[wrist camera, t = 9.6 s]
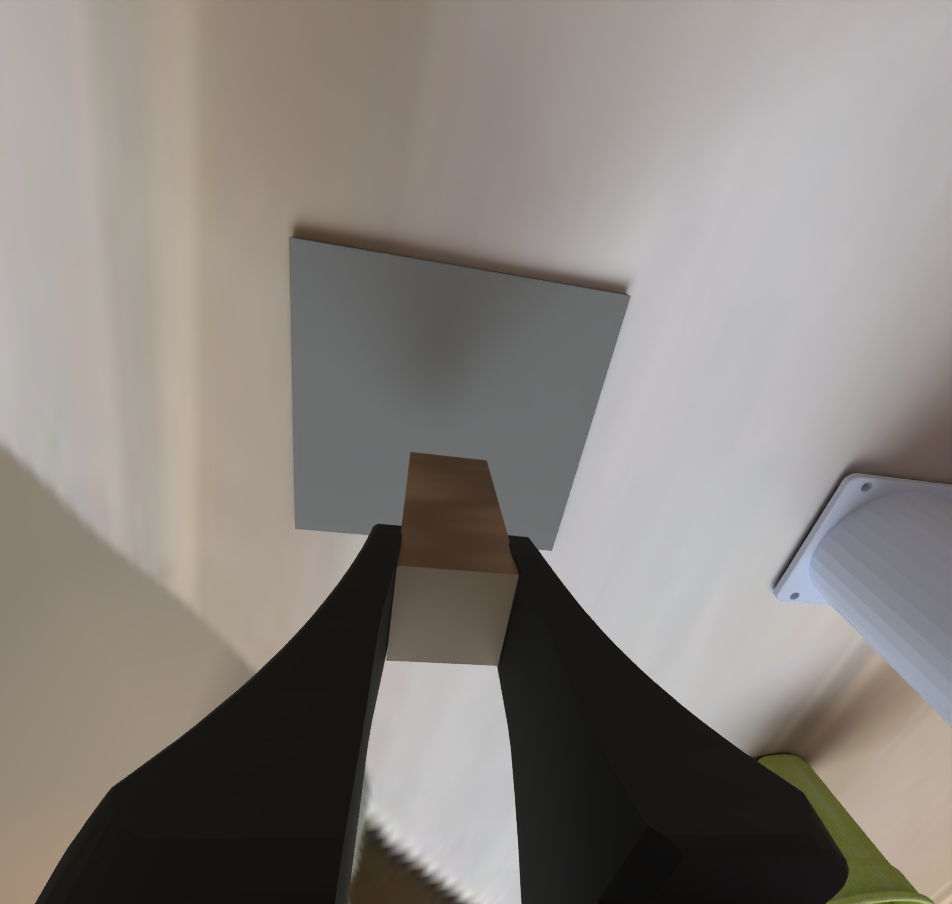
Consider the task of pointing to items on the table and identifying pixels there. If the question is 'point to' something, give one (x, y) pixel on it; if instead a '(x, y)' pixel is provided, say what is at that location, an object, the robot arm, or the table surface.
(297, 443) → the mat
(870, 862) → the plant pot
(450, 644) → the stick
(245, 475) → the table surface
